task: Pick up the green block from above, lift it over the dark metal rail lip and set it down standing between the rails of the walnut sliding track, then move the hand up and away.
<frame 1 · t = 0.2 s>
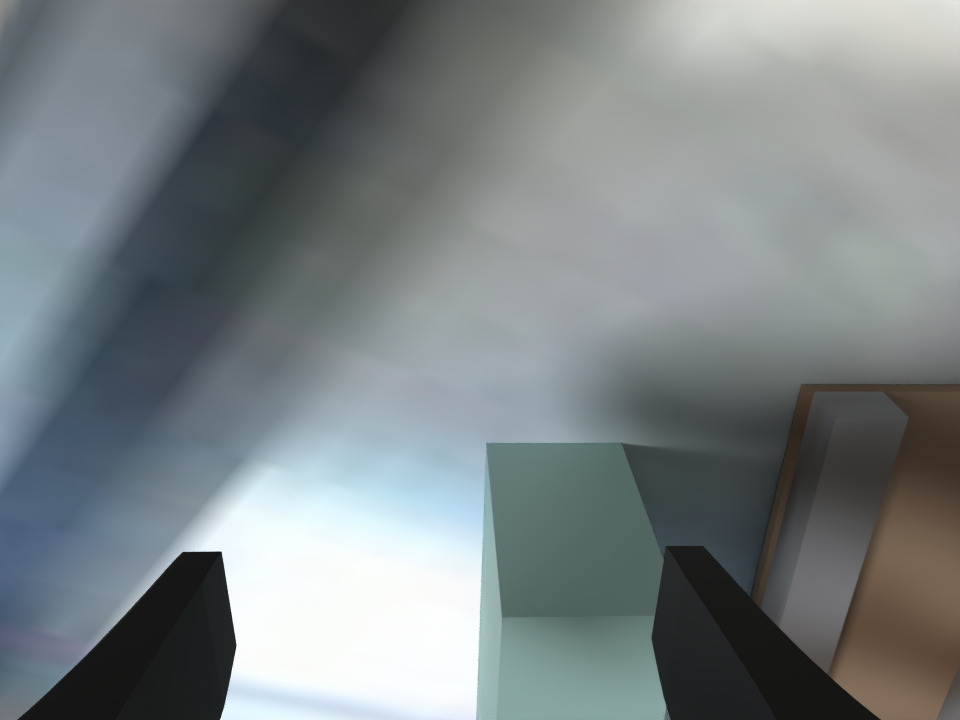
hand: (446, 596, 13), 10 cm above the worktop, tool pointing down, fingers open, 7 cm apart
track: (882, 637, 28), on the worktop
green block: (541, 594, 26), on the worktop
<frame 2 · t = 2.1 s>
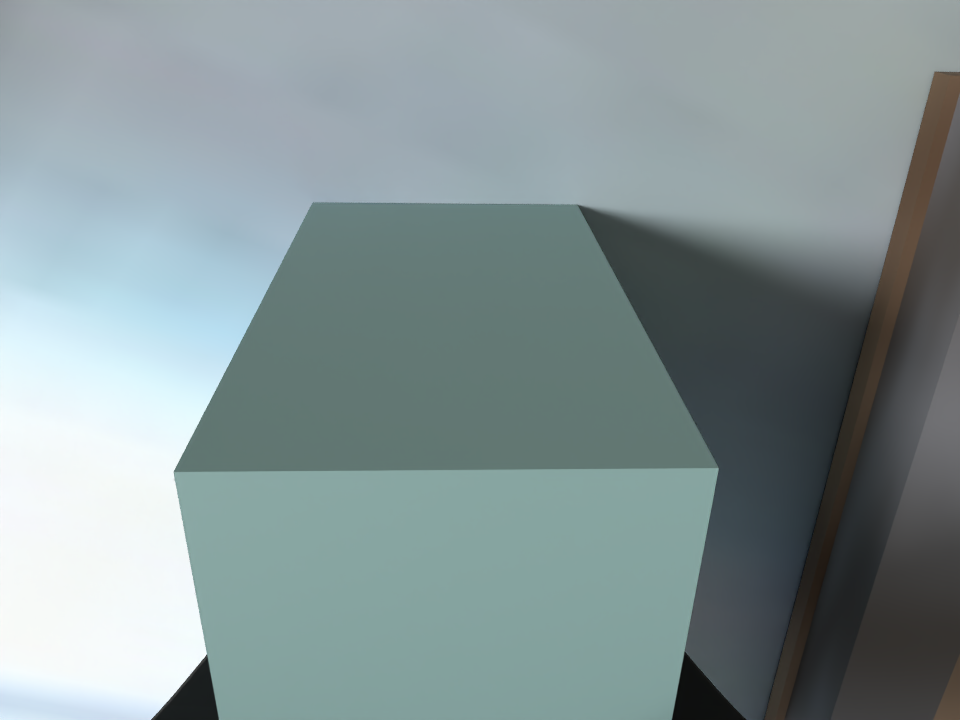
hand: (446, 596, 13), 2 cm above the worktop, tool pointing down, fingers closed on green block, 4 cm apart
green block: (445, 521, 15), on the worktop, touching gripper
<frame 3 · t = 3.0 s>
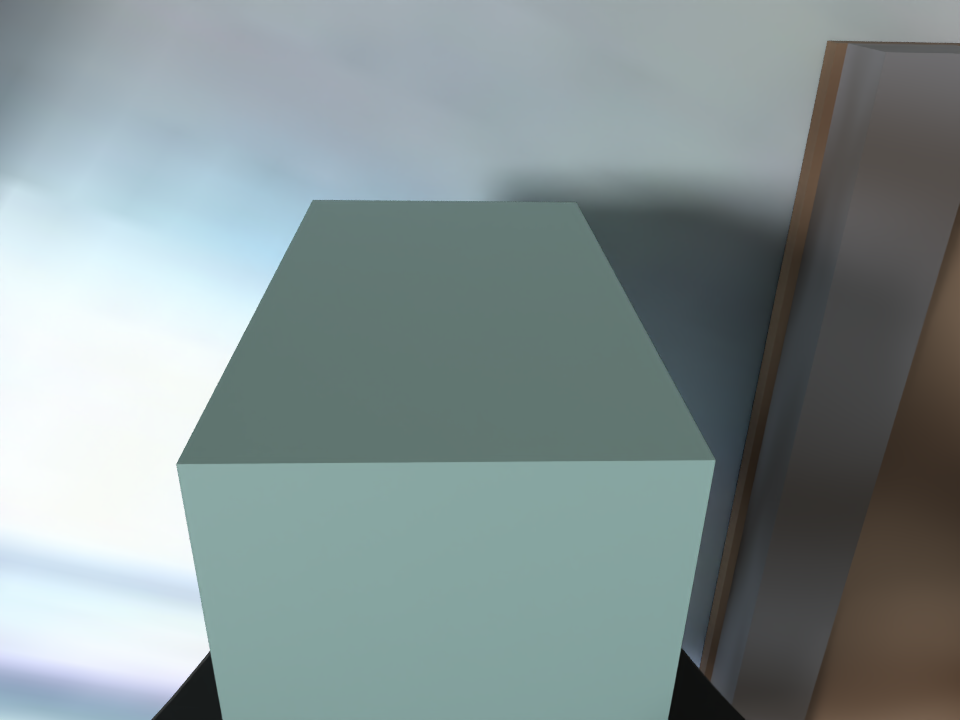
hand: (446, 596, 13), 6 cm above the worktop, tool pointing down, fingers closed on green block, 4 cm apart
track: (938, 483, 20), on the worktop
green block: (445, 517, 15), point 4 cm above the worktop, touching gripper
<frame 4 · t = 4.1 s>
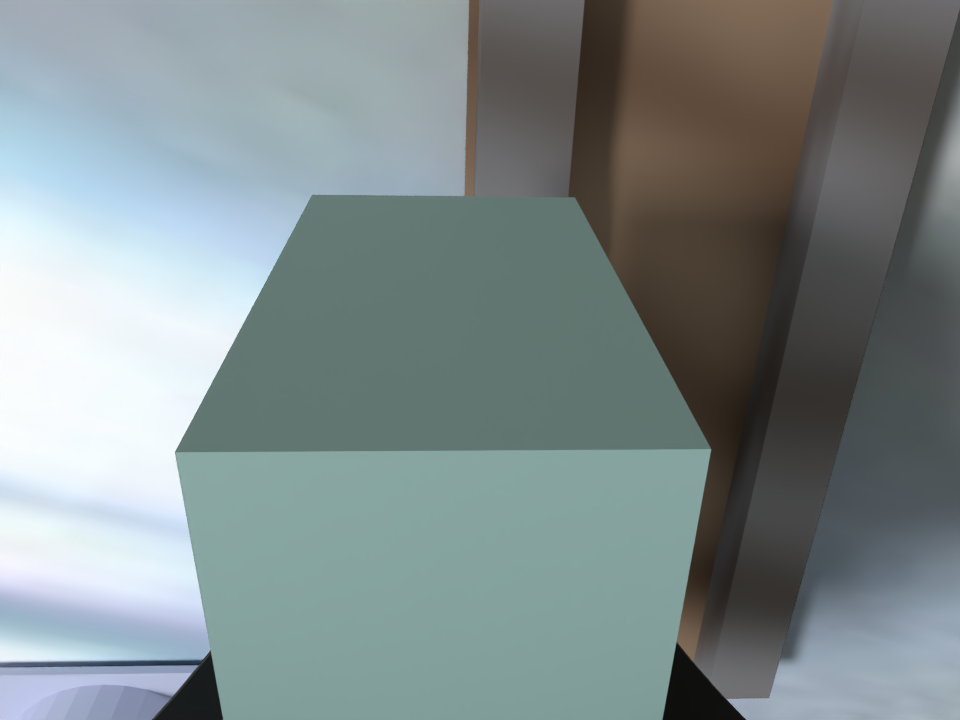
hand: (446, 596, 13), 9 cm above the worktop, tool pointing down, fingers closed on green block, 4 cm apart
track: (643, 387, 22), on the worktop
green block: (444, 512, 15), point 7 cm above the worktop, touching gripper
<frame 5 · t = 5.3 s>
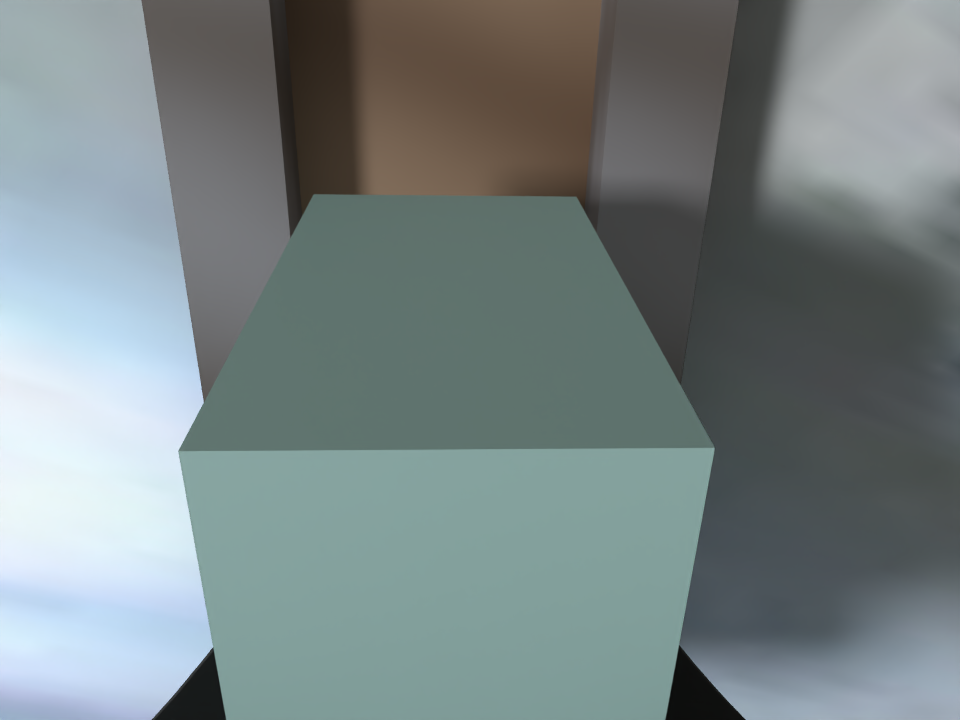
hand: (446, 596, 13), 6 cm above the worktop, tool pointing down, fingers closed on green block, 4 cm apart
track: (444, 411, 18), on the worktop
green block: (445, 512, 15), point 4 cm above the worktop, touching gripper
when the fingers open (3 cm above the worktop, at t = 6.3 s): green block stays where it is, resting on track.
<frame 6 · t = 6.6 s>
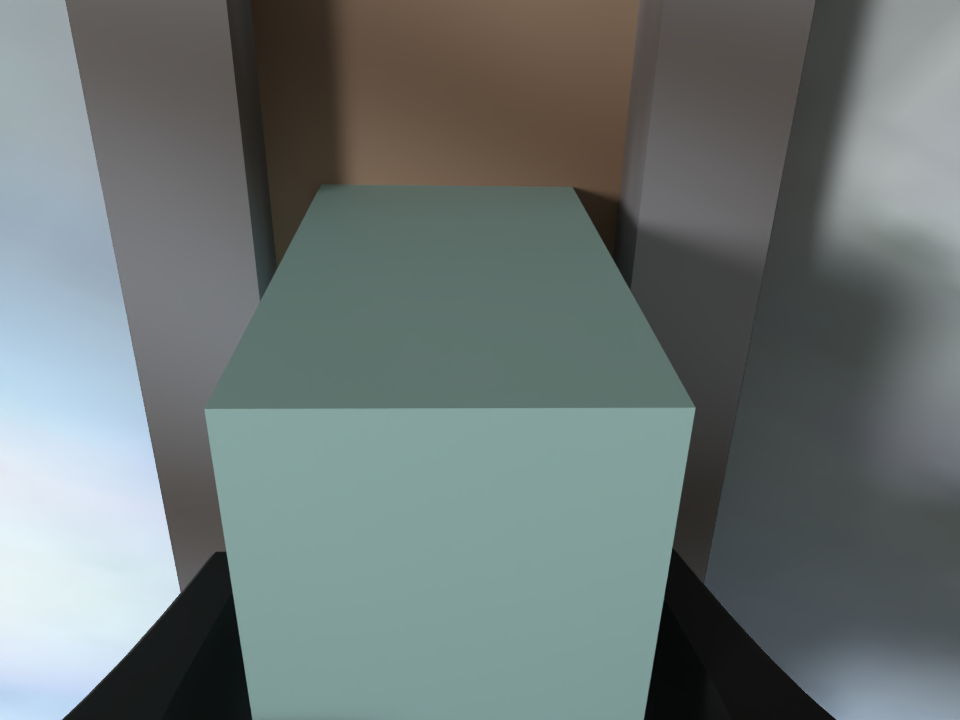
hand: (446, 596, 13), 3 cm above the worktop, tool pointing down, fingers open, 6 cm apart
track: (445, 483, 16), on the worktop
green block: (446, 493, 15), resting on track
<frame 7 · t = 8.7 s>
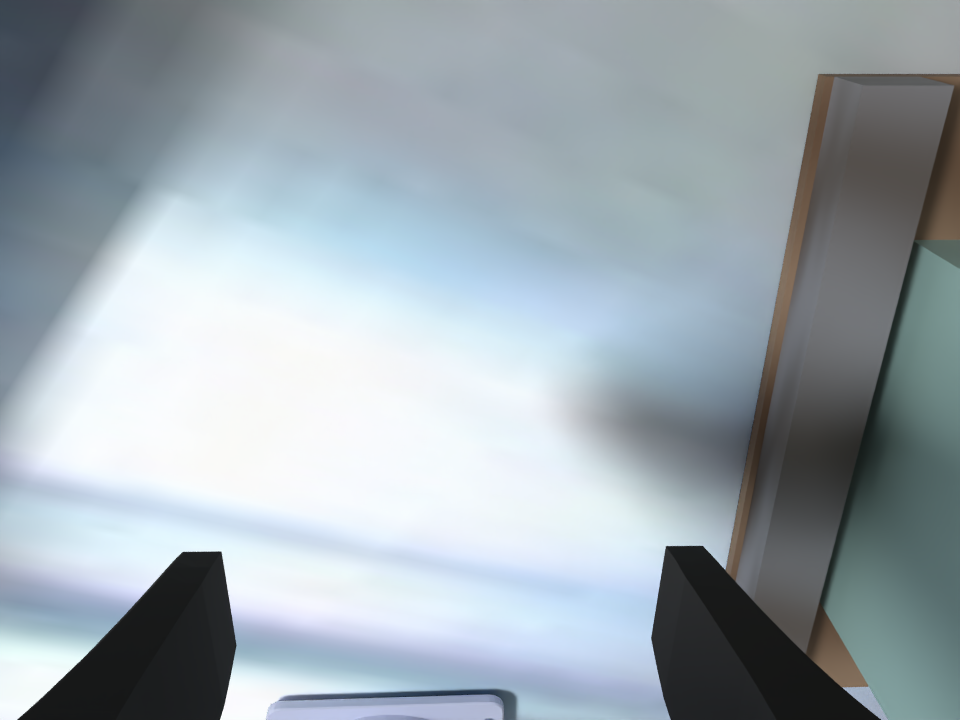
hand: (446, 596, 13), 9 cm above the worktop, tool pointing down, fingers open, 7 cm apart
track: (918, 434, 23), on the worktop
green block: (927, 439, 23), resting on track
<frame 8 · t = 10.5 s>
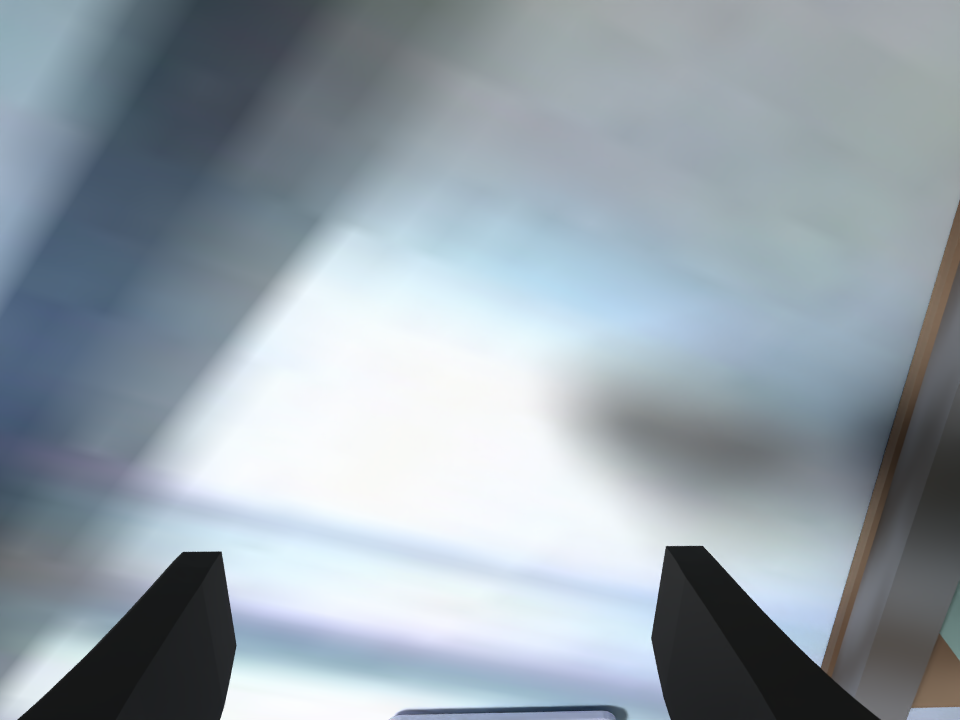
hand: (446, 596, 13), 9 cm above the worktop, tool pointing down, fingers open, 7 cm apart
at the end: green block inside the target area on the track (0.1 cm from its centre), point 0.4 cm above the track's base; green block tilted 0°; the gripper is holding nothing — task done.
